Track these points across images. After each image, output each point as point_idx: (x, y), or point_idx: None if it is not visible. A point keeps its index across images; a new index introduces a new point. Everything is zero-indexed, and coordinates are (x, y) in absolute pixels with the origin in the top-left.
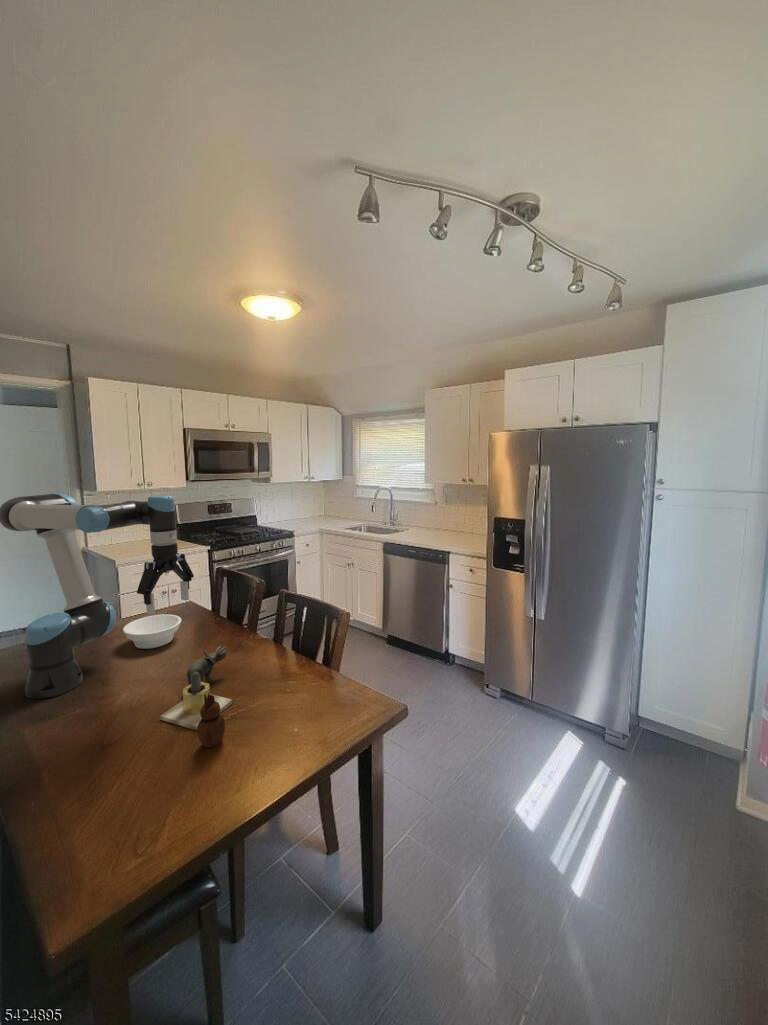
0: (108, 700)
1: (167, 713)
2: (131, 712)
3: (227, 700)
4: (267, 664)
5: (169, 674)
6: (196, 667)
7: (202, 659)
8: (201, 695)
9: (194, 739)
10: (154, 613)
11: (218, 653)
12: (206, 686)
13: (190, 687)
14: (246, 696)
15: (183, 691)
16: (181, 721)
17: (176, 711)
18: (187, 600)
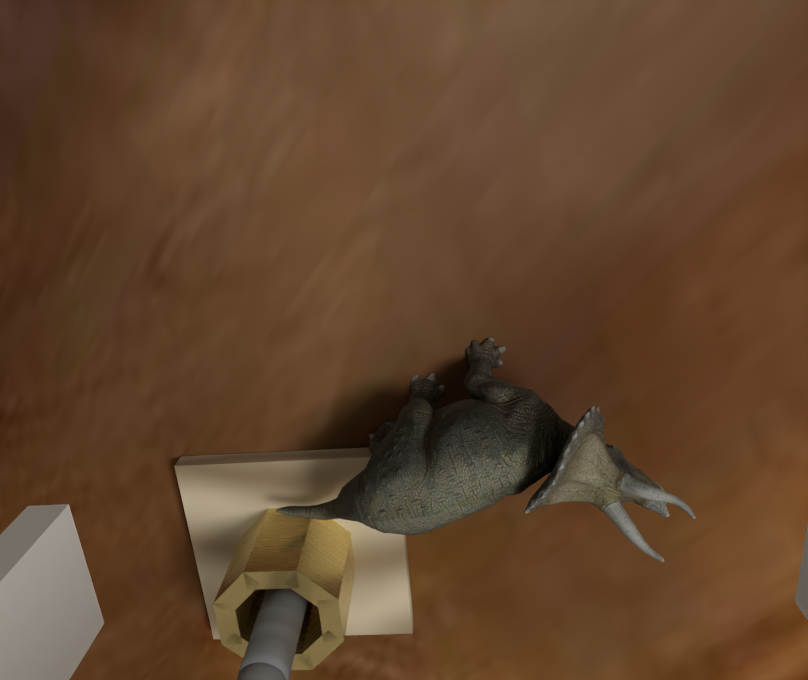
0: (122, 56)
1: (202, 478)
2: (137, 290)
3: (398, 620)
4: (778, 550)
5: (488, 126)
6: (399, 530)
7: (491, 493)
8: None
9: (181, 646)
10: (89, 628)
11: (606, 513)
12: (318, 647)
13: (276, 586)
14: (479, 635)
15: (230, 589)
16: (199, 568)
17: (232, 501)
18: (798, 603)
